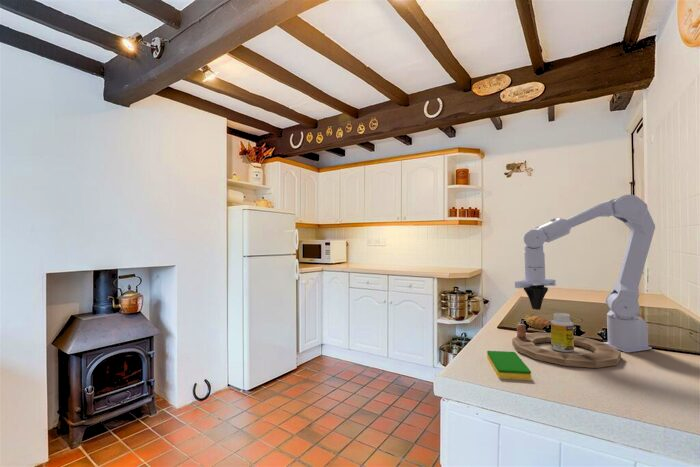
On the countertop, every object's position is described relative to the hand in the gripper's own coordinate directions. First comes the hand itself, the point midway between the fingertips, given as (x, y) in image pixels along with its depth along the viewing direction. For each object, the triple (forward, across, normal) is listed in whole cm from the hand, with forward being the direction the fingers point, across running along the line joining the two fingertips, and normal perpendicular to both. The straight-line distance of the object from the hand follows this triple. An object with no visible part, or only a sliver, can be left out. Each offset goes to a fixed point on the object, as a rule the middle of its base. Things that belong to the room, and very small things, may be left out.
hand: (536, 309), depth 108 cm
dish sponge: (+10, +27, +17) cm, 33 cm away
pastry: (+10, -12, -11) cm, 19 cm away
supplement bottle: (+10, +2, +11) cm, 15 cm away
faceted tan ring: (+9, +4, +12) cm, 16 cm away
